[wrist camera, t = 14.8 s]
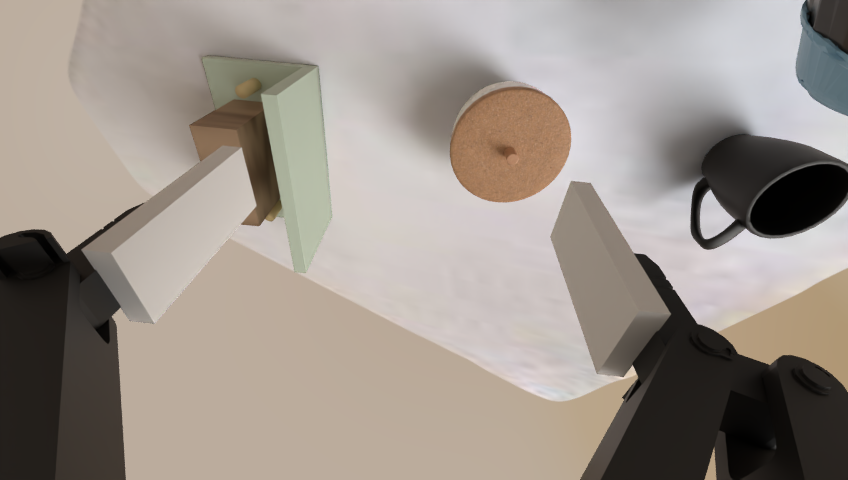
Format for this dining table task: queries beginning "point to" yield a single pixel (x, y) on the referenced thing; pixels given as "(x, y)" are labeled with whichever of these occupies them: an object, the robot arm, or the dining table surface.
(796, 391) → the robot arm
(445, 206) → the dining table surface
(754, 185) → the mug
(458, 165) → the lidded jar
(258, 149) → the brown tapered block
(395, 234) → the dining table surface
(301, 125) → the ledge
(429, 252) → the dining table surface
